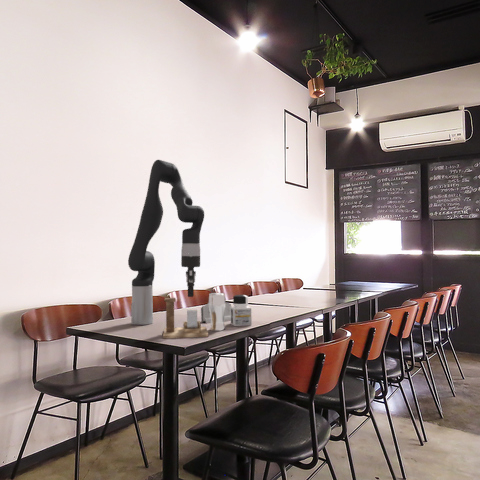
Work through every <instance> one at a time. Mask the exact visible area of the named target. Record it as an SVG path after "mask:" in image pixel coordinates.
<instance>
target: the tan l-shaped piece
mask: <svg viewBox="0 0 480 480" xmlns="http://www.w3.org/2000/svg"><path fill="white" fill-rule="evenodd" d="M176 301H177V300H176V297H165V298H164V302H165V310H166V311H165V318H166V319H165V320H166V321H165V322H166V327H165V328H164V331H163V334H162V338H163V339H178V338H179V339H181V338H182V339H183V338H184V339H186V338H204V337H205V338H207V337H209V332H208V330H207V329H208V328H207V326H202V325H201V320H197V329H187V320H186V321H183V322H182V323H183V325H182V326H183V327H175V303H176Z"/></svg>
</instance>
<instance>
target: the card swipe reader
mask: <svg viewBox="0 0 480 480" xmlns="http://www.w3.org/2000/svg"><path fill="white" fill-rule="evenodd" d="M225 302H226V301H225ZM231 306H232V304H231V303H230V302H226V306H225V314H224V322H229V321H230V322H231V311H230V307H231ZM200 323H206V324H211V316H210V311H209V302H208V303H207V304H205V305H202V306H201V307H200Z"/></svg>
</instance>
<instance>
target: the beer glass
mask: <svg viewBox="0 0 480 480" xmlns="http://www.w3.org/2000/svg"><path fill="white" fill-rule="evenodd" d="M208 295H209V296H208V303H209V311H210V316H211V323H210V327H209V329H210V331H212V332H222V331H225V329H226V328H225V321H224V314H225V306H226V293H225V292H211V293H208Z"/></svg>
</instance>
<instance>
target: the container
mask: <svg viewBox="0 0 480 480" xmlns="http://www.w3.org/2000/svg"><path fill="white" fill-rule="evenodd" d="M232 302H233V303H232V305H231V307H230V311H231V321H230V324H231V325H232V326H234V327H244V326H252V319H253V318H252V307H250V306H248V305H249V296H248V295H246V294H235V295H233V298H232Z"/></svg>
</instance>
